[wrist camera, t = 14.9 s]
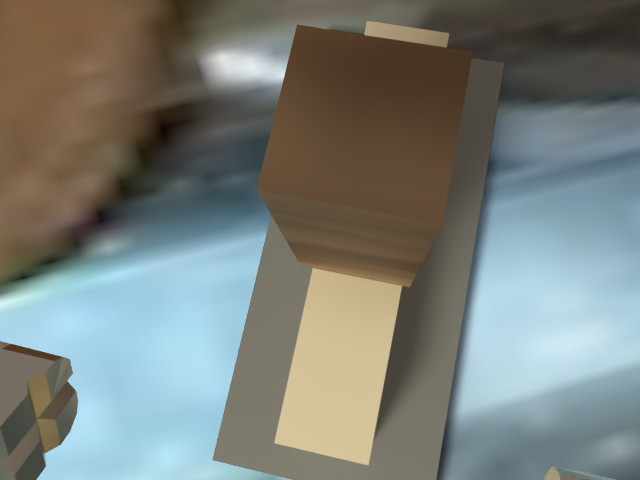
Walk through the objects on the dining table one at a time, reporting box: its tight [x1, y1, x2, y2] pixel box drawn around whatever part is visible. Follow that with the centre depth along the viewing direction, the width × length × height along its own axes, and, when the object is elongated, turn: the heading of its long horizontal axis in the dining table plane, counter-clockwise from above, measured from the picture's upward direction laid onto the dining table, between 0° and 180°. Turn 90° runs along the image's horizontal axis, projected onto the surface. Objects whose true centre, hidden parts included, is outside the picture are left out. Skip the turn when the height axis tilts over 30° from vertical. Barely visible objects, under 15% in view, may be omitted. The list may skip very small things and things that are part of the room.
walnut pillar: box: [257, 25, 473, 287], centre depth 19 cm, size 4×4×10 cm
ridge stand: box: [213, 21, 504, 480], centre depth 27 cm, size 22×10×6 cm, turn 168°
